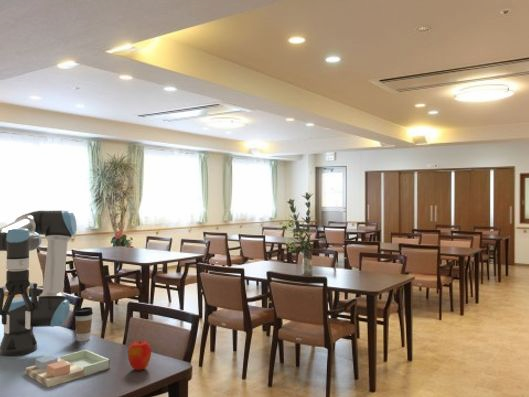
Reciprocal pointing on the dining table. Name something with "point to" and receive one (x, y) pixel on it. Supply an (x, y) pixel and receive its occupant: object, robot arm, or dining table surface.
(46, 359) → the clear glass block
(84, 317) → the coffee cup
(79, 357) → the box
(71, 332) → the dining table surface
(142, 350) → the apple
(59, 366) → the tile terracotta
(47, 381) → the light wooden slatted rack
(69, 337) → the dining table surface
